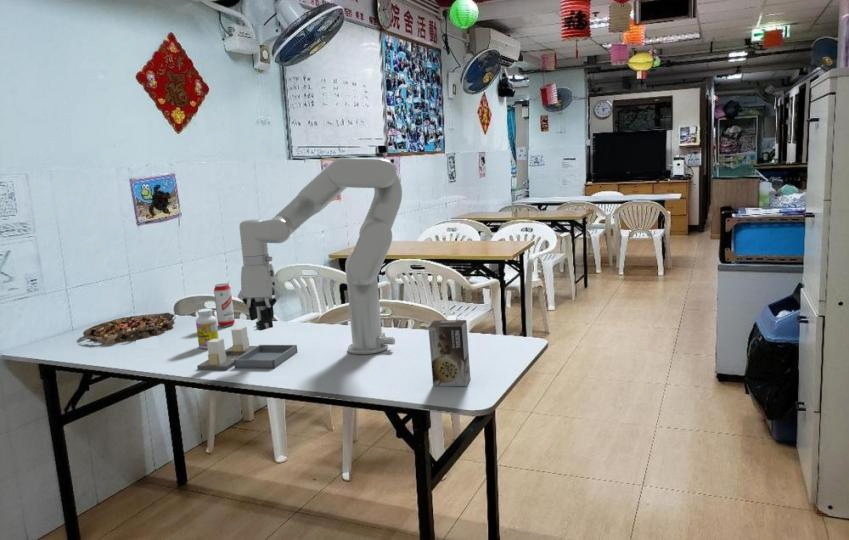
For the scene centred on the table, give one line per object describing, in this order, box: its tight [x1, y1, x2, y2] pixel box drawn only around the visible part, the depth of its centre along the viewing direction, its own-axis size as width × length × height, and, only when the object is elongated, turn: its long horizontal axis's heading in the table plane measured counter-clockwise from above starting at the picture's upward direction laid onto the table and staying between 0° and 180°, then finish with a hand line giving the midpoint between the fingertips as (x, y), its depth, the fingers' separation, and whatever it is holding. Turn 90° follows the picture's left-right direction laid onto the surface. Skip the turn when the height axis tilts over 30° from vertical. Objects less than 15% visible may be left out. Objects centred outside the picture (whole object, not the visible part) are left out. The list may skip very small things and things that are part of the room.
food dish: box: [82, 312, 176, 346], centre depth 252 cm, size 35×33×8 cm
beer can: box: [213, 283, 236, 328], centre depth 251 cm, size 6×6×16 cm
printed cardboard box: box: [427, 319, 471, 387], centre depth 169 cm, size 9×6×16 cm
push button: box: [252, 298, 274, 331], centre depth 200 cm, size 7×5×10 cm
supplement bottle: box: [195, 307, 220, 350], centre depth 222 cm, size 7×7×13 cm
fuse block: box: [196, 326, 258, 371], centre depth 205 cm, size 10×21×8 cm, turn 166°
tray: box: [234, 344, 298, 370], centre depth 202 cm, size 13×16×2 cm
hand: (262, 318), depth 200 cm, fingers closed on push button, 4 cm apart
